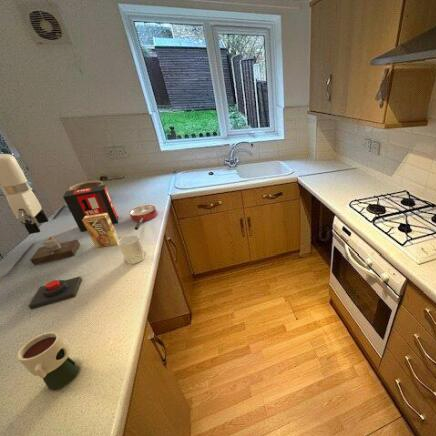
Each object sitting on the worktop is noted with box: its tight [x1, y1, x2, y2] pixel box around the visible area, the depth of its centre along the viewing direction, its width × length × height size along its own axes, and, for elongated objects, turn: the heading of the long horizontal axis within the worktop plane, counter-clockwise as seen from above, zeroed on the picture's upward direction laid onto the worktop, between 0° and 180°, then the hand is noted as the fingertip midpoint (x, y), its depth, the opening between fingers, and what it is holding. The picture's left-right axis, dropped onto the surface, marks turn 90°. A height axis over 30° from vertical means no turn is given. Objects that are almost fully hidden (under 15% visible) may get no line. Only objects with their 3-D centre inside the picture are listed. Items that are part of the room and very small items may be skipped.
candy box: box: [82, 213, 120, 249], centre depth 111 cm, size 9×4×15 cm, turn 110°
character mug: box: [16, 331, 80, 390], centre depth 58 cm, size 11×7×13 cm, turn 33°
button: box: [44, 279, 61, 291], centre depth 85 cm, size 4×4×2 cm
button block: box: [28, 276, 83, 310], centre depth 86 cm, size 12×10×4 cm
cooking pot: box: [68, 180, 109, 193], centre depth 156 cm, size 25×19×12 cm
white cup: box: [116, 234, 145, 265], centre depth 101 cm, size 8×8×10 cm
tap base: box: [29, 239, 81, 266], centre depth 107 cm, size 14×10×3 cm
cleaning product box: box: [62, 184, 119, 233], centre depth 128 cm, size 16×9×20 cm, turn 123°
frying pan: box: [129, 204, 158, 231], centre depth 130 cm, size 32×13×6 cm, turn 29°
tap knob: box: [42, 236, 61, 252], centre depth 105 cm, size 4×4×5 cm
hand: (39, 227), depth 98 cm, fingers open, 9 cm apart
